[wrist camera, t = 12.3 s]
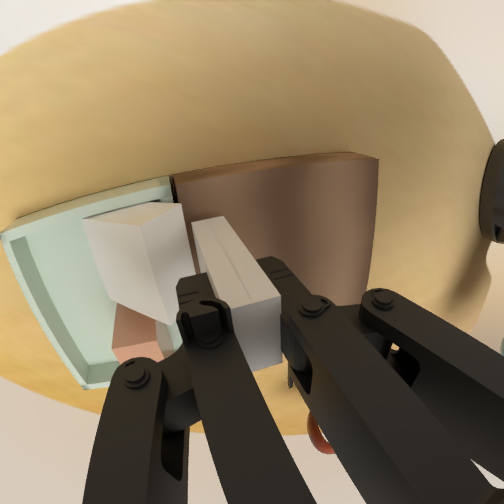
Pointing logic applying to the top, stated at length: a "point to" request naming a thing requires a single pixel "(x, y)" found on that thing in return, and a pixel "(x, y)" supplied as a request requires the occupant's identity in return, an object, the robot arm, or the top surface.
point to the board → (294, 215)
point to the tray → (75, 278)
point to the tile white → (142, 256)
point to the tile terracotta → (139, 336)
